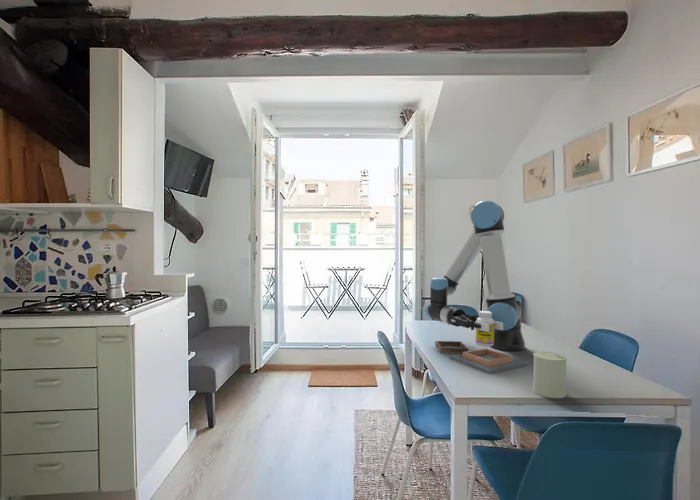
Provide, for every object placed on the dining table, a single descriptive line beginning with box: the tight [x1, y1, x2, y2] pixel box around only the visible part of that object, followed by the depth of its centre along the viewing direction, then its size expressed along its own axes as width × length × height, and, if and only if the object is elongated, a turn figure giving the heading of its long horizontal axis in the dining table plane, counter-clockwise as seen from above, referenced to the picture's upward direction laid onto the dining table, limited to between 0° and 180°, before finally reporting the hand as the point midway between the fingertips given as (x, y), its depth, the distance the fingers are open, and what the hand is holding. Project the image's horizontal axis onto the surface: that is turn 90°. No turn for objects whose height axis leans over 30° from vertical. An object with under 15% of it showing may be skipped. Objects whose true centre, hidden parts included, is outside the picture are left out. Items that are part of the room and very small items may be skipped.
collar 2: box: [462, 347, 514, 366], centre depth 150 cm, size 13×13×2 cm
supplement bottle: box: [475, 310, 494, 347], centre depth 150 cm, size 7×7×13 cm
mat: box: [449, 353, 527, 374], centre depth 150 cm, size 20×20×1 cm
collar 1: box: [434, 340, 469, 354], centre depth 168 cm, size 12×12×2 cm
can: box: [532, 351, 567, 399], centre depth 120 cm, size 9×9×12 cm
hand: (495, 327), depth 145 cm, fingers closed on supplement bottle, 7 cm apart
